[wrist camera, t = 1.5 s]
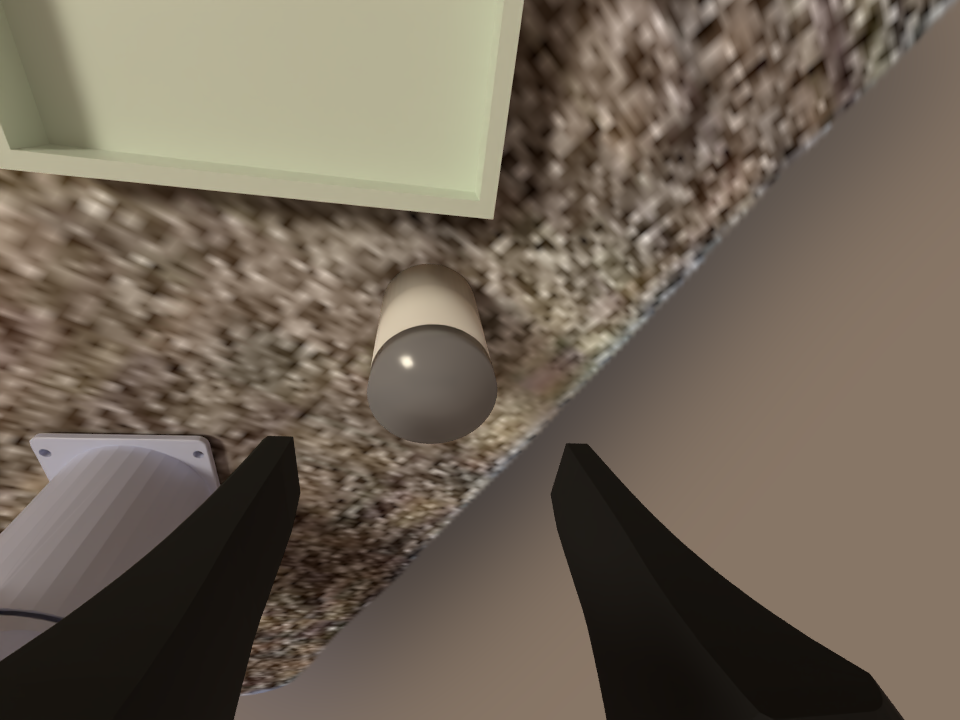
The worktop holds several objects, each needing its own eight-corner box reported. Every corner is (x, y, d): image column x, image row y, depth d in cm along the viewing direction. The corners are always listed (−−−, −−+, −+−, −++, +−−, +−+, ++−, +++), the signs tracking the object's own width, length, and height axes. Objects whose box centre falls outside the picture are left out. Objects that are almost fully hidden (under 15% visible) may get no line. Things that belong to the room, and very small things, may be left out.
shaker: (469, 350, 22) (487, 444, 16) (381, 346, 22) (367, 442, 16) (480, 267, 20) (506, 342, 14) (383, 259, 19) (366, 334, 13)
